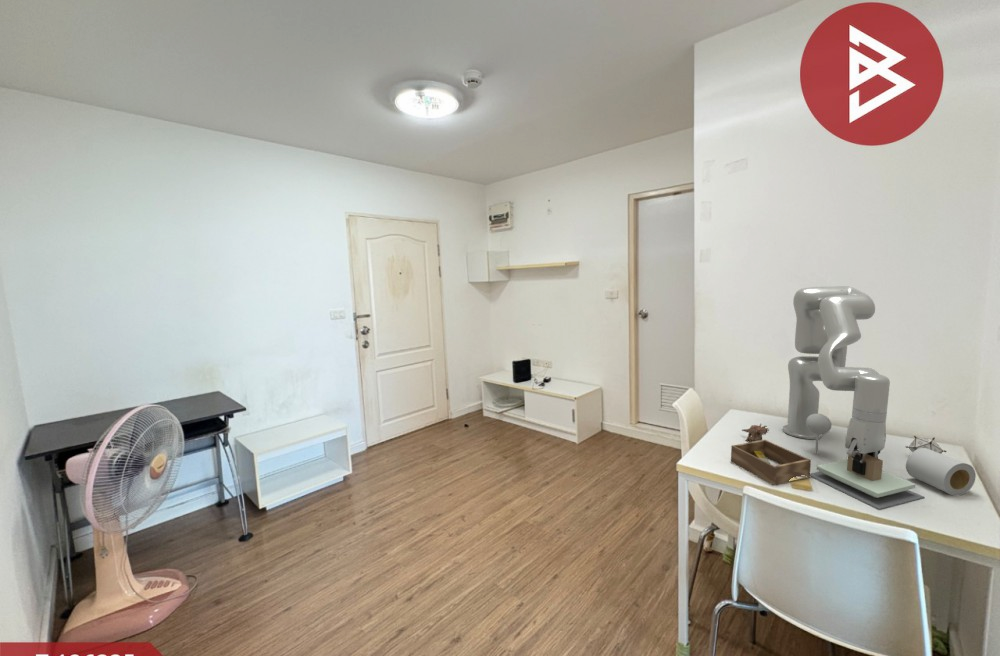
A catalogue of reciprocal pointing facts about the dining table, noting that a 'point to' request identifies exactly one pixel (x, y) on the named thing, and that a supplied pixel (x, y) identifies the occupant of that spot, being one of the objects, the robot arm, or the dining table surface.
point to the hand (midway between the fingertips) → (863, 471)
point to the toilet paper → (941, 471)
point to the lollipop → (818, 426)
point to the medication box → (761, 456)
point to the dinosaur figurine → (755, 432)
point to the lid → (866, 477)
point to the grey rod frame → (925, 445)
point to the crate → (772, 474)
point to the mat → (866, 498)
